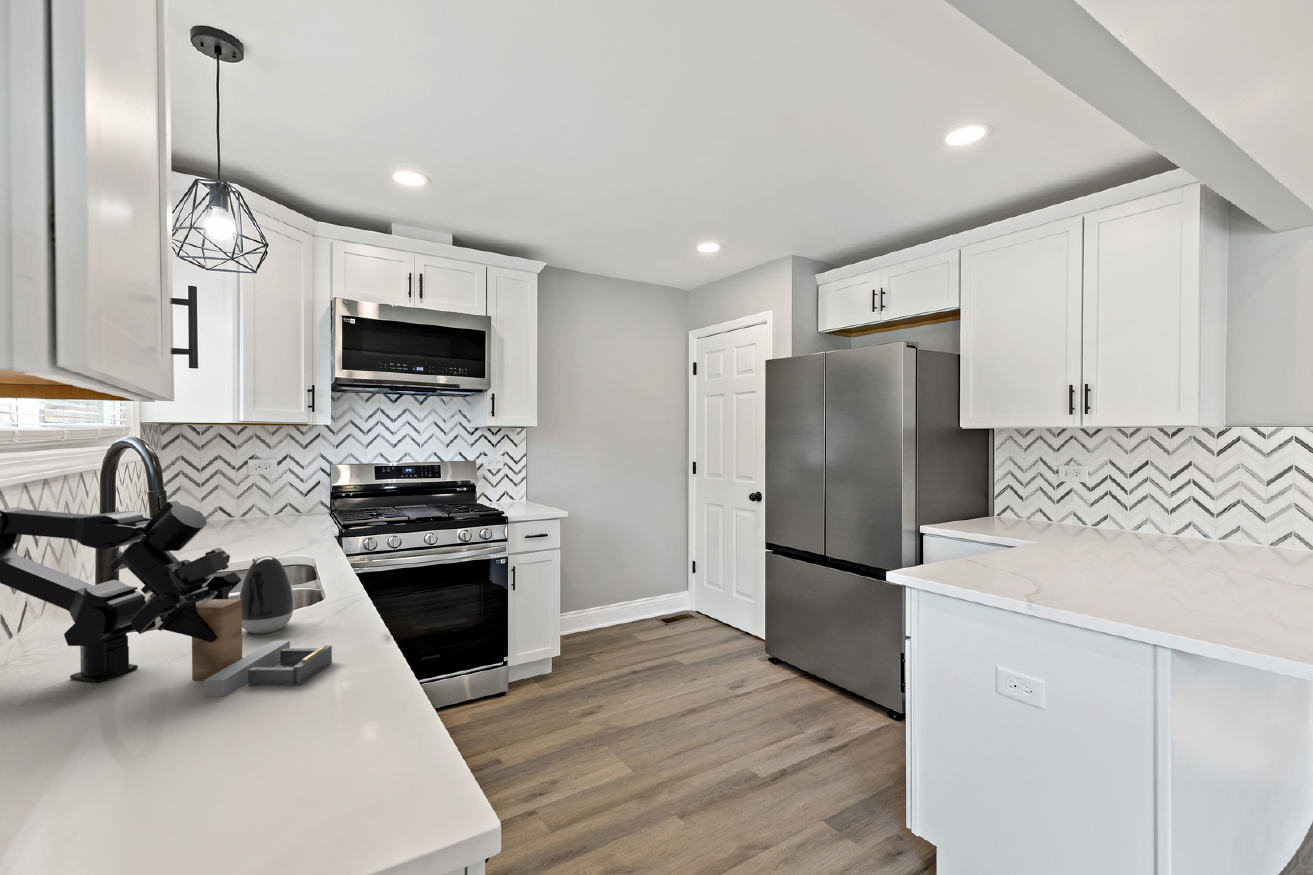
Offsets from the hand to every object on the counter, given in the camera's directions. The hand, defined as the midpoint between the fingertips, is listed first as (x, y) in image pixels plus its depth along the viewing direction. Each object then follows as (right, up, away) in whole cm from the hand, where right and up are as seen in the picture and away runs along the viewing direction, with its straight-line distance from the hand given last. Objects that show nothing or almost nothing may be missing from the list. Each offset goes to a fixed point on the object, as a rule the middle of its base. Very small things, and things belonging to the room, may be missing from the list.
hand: (225, 634), depth 106 cm
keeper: (+10, -7, 0) cm, 12 cm away
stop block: (-1, -7, 0) cm, 7 cm away
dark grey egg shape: (-8, -6, +23) cm, 25 cm away
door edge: (+4, -7, 0) cm, 8 cm away
